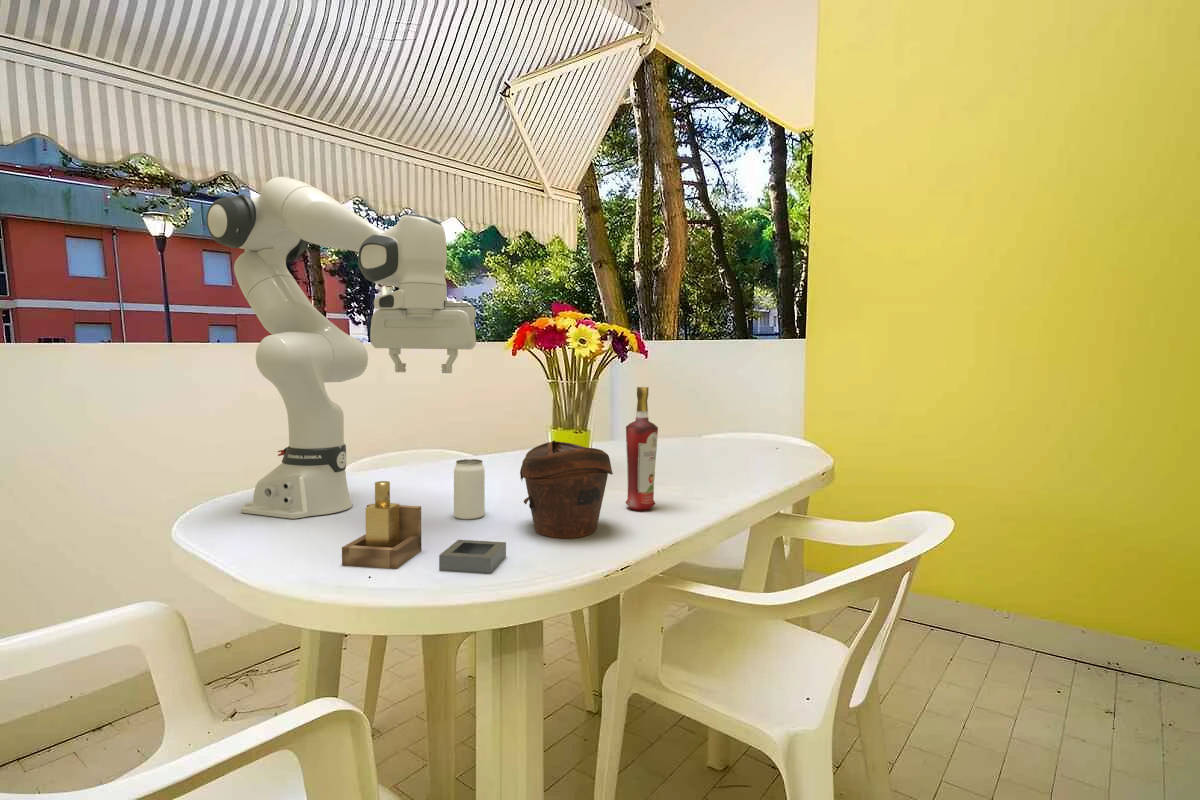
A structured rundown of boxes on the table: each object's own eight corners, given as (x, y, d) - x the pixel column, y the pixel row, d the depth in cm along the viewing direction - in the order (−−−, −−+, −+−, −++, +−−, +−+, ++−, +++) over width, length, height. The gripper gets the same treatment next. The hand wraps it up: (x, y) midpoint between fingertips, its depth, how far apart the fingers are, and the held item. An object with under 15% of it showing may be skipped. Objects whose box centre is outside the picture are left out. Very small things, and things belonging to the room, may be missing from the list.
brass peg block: (366, 560, 104) (365, 484, 103) (377, 553, 108) (377, 479, 107) (388, 562, 103) (388, 485, 102) (399, 554, 107) (398, 480, 106)
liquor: (638, 503, 148) (640, 386, 146) (662, 508, 143) (665, 387, 141) (617, 508, 143) (620, 386, 141) (642, 514, 138) (644, 388, 136)
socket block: (439, 570, 100) (439, 555, 100) (458, 553, 108) (458, 539, 108) (490, 573, 99) (490, 558, 98) (506, 556, 107) (506, 542, 107)
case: (549, 512, 138) (549, 432, 136) (629, 526, 128) (630, 440, 126) (497, 532, 122) (497, 442, 121) (583, 550, 112) (584, 452, 111)
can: (488, 513, 136) (488, 459, 136) (479, 520, 130) (479, 464, 129) (459, 512, 137) (459, 458, 136) (449, 519, 131) (449, 463, 130)
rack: (342, 565, 101) (341, 517, 101) (370, 547, 111) (370, 503, 110) (397, 568, 100) (396, 520, 100) (421, 550, 110) (421, 506, 109)
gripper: (480, 302, 121) (480, 373, 122) (381, 302, 124) (382, 371, 124) (469, 299, 115) (469, 374, 116) (365, 299, 117) (366, 372, 118)
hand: (423, 372), depth 120 cm, fingers open, 8 cm apart
